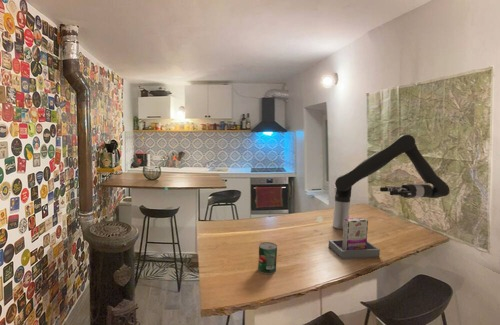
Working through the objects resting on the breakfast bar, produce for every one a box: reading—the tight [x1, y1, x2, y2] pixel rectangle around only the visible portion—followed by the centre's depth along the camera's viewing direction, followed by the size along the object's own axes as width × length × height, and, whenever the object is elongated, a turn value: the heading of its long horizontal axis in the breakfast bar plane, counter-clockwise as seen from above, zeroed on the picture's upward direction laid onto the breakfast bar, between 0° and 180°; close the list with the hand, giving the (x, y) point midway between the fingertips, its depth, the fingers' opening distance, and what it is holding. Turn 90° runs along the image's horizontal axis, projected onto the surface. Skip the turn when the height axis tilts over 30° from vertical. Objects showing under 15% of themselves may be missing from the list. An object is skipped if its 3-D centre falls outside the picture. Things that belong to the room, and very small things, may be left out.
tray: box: [328, 239, 381, 260], centre depth 151 cm, size 14×20×4 cm
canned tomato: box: [257, 241, 278, 275], centre depth 129 cm, size 8×8×11 cm
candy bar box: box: [342, 217, 369, 250], centre depth 150 cm, size 11×5×16 cm, turn 104°
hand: (385, 191), depth 158 cm, fingers open, 8 cm apart
